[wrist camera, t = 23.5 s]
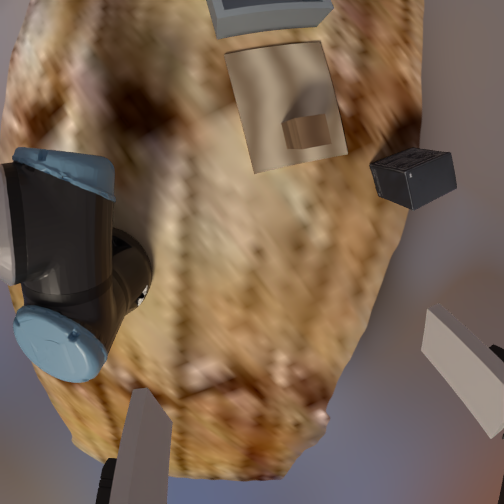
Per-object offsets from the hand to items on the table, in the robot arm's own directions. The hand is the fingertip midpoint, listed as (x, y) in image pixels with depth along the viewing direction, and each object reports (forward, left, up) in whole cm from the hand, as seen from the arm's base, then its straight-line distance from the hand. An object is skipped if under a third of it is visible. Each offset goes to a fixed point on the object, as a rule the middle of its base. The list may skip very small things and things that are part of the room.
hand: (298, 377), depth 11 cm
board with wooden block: (+11, +14, -35) cm, 39 cm away
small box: (+28, 0, -35) cm, 45 cm away
